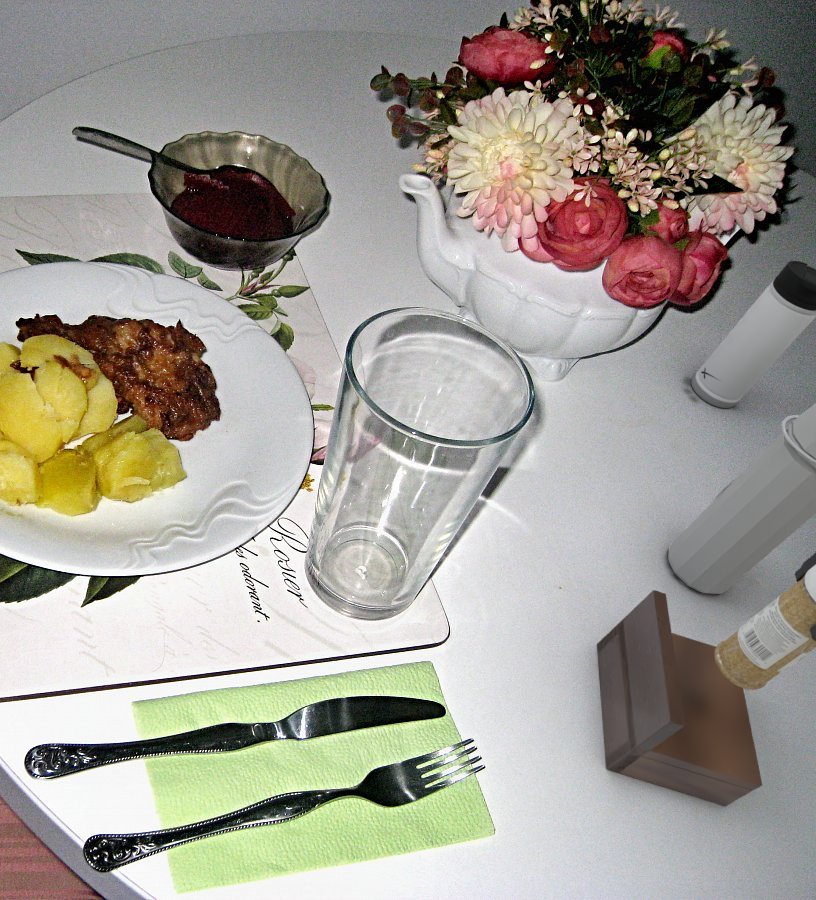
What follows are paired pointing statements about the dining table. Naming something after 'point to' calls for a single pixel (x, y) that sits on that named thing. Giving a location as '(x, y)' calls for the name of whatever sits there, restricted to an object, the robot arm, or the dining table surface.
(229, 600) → the dining table surface
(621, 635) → the shelf
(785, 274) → the travel mug
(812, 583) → the sprinkles bottle
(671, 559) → the water bottle
